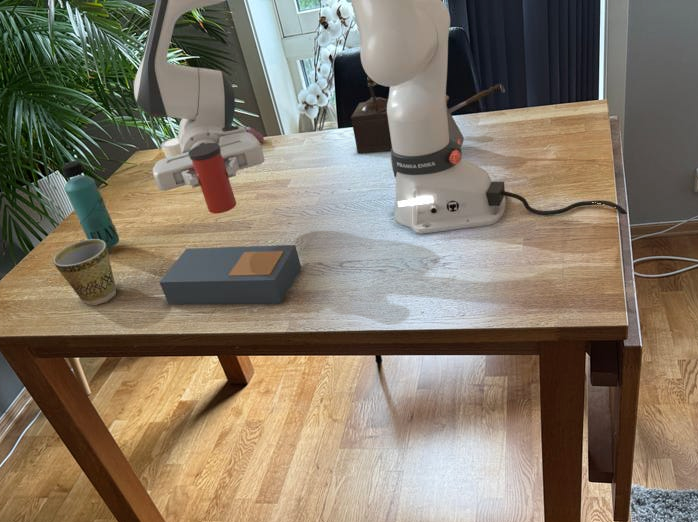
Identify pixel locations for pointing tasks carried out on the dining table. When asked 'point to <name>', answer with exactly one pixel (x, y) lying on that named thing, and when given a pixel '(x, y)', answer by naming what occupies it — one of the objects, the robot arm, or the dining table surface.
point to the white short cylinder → (171, 147)
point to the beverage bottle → (89, 205)
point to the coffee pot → (452, 126)
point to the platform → (232, 275)
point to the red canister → (213, 177)
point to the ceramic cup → (87, 270)
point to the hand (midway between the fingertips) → (213, 177)
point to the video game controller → (255, 134)
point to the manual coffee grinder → (372, 124)
